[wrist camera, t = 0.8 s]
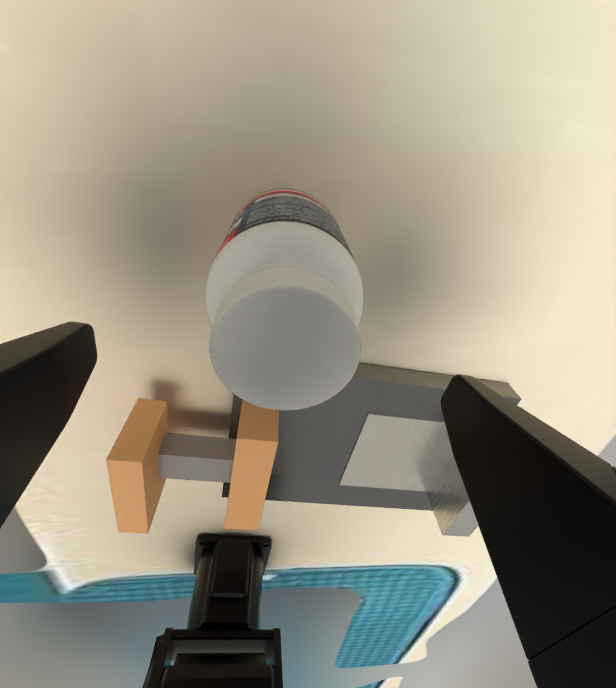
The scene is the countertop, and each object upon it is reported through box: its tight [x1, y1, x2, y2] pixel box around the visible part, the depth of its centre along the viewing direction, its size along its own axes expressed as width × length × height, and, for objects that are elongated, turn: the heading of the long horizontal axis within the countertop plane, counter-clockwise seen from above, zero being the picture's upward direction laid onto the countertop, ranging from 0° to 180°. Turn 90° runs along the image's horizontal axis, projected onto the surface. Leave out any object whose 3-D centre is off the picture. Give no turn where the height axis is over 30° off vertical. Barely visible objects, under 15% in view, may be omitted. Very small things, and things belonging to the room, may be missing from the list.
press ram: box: [106, 398, 279, 534], centre depth 19 cm, size 8×8×4 cm
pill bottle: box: [205, 189, 364, 410], centre depth 12 cm, size 5×5×9 cm
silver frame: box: [222, 363, 521, 536], centre depth 22 cm, size 12×17×4 cm
